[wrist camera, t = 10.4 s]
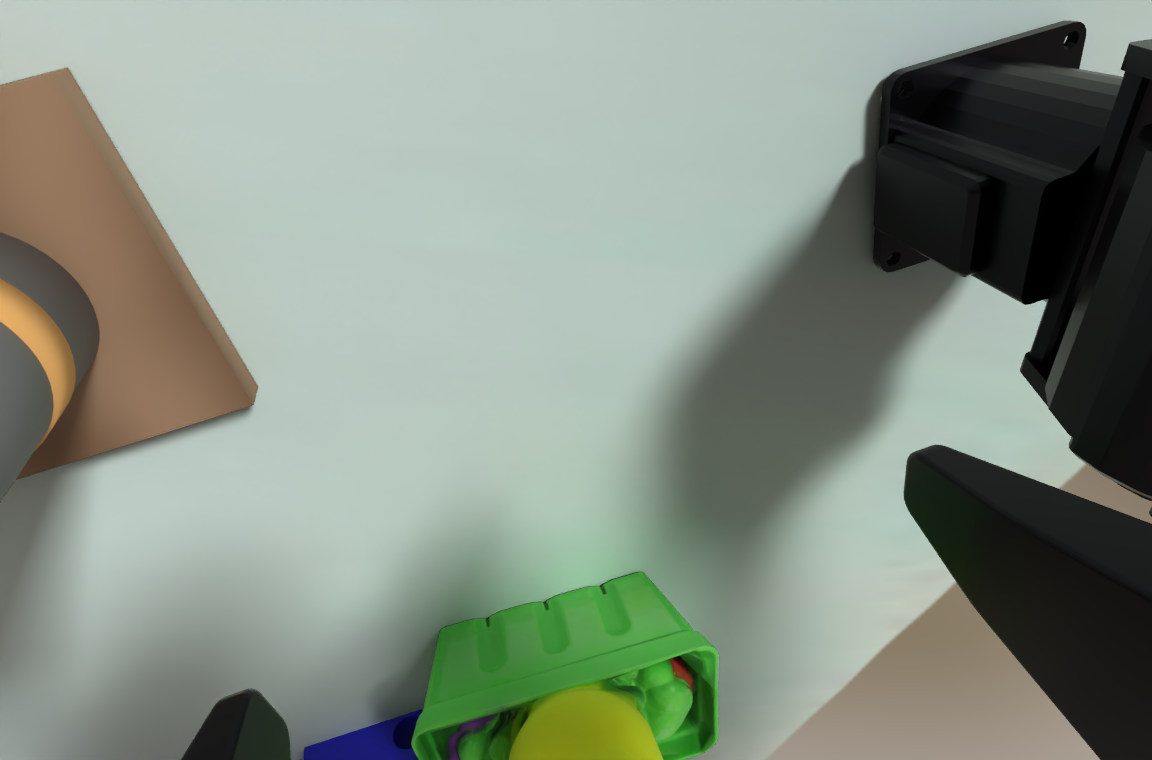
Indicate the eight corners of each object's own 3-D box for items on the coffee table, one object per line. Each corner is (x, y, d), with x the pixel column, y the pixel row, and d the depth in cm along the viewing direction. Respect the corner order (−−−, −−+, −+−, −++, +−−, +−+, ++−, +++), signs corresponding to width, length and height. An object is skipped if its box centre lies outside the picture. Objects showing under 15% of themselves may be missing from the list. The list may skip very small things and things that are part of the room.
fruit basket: (442, 720, 31) (474, 1043, 22) (391, 597, 26) (404, 947, 17) (674, 648, 33) (794, 920, 24) (667, 519, 28) (814, 801, 19)
